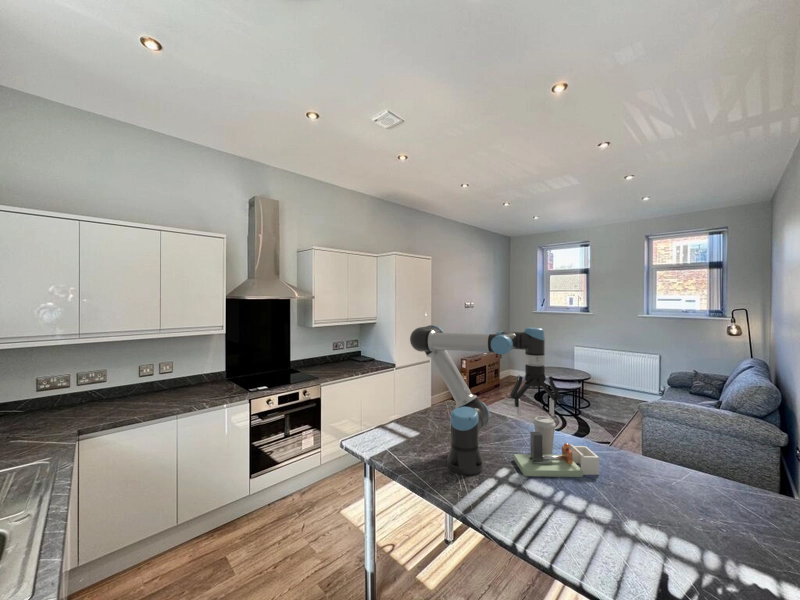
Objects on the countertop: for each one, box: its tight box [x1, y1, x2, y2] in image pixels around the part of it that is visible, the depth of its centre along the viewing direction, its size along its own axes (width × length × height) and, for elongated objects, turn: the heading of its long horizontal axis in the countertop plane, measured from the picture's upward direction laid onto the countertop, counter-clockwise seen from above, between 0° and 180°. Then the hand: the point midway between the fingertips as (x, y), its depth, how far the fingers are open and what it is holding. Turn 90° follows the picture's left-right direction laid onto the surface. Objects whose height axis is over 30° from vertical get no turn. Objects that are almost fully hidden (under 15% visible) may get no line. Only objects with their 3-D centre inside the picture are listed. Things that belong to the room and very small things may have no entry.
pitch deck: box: [513, 453, 584, 478], centre depth 132 cm, size 23×13×2 cm, turn 87°
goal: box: [569, 443, 600, 476], centre depth 131 cm, size 7×10×8 cm
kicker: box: [529, 431, 573, 464], centre depth 132 cm, size 16×6×11 cm, turn 87°
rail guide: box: [529, 457, 552, 464], centre depth 132 cm, size 8×4×1 cm, turn 87°
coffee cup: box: [532, 415, 557, 455], centre depth 146 cm, size 10×10×15 cm
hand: (535, 414), depth 132 cm, fingers open, 13 cm apart
